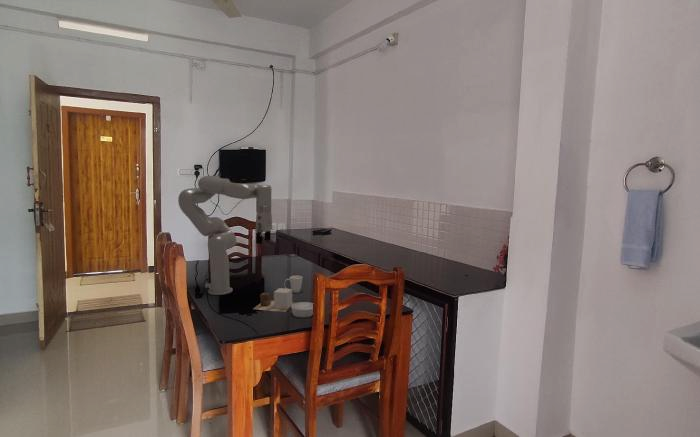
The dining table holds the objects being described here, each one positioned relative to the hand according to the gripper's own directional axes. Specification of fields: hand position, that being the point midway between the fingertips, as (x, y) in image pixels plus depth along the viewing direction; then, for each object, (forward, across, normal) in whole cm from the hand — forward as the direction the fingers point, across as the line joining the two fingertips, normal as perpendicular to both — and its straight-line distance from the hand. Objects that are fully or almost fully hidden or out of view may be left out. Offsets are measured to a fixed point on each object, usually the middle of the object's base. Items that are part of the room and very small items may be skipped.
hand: (263, 242), depth 222 cm
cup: (+29, +12, -12) cm, 33 cm away
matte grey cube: (+27, -17, -18) cm, 37 cm away
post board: (+28, -17, -14) cm, 36 cm away
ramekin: (+28, -24, -31) cm, 48 cm away
